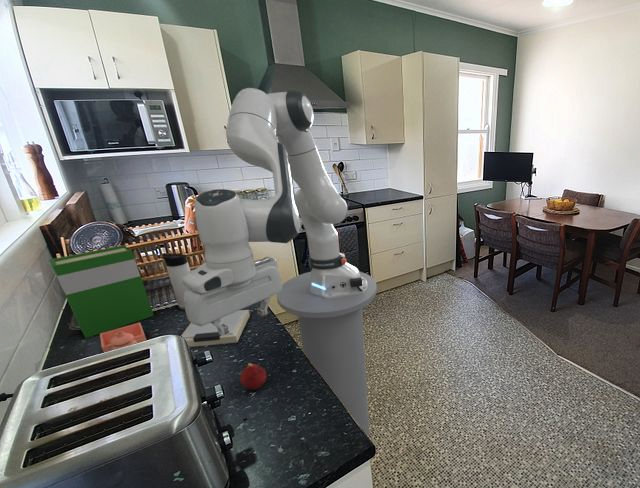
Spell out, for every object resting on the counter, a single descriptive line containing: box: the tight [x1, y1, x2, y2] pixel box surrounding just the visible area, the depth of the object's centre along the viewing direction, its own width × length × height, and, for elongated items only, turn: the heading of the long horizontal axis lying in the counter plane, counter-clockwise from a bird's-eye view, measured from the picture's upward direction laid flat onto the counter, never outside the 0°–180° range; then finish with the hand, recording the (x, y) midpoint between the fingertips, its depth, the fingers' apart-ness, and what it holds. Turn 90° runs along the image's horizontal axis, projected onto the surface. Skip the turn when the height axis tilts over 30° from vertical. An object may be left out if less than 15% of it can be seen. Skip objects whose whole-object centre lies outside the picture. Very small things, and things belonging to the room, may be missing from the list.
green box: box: [48, 244, 155, 339], centre depth 110 cm, size 18×7×24 cm, turn 141°
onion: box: [239, 362, 267, 391], centre depth 87 cm, size 6×6×8 cm
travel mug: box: [162, 253, 192, 311], centre depth 121 cm, size 6×7×20 cm
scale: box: [180, 309, 251, 348], centre depth 111 cm, size 16×16×3 cm
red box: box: [99, 321, 147, 353], centre depth 98 cm, size 18×10×10 cm, turn 43°
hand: (244, 323), depth 79 cm, fingers open, 8 cm apart
